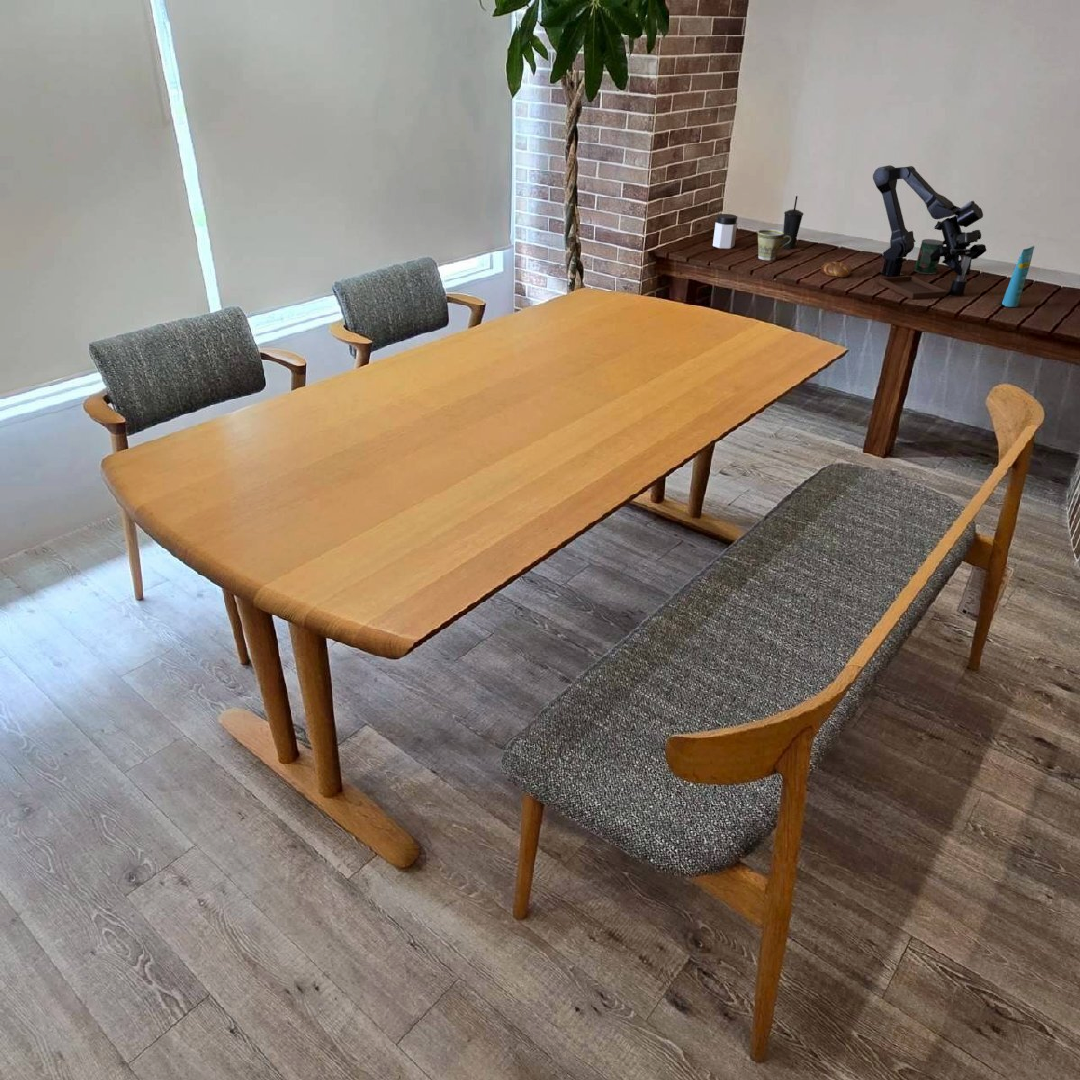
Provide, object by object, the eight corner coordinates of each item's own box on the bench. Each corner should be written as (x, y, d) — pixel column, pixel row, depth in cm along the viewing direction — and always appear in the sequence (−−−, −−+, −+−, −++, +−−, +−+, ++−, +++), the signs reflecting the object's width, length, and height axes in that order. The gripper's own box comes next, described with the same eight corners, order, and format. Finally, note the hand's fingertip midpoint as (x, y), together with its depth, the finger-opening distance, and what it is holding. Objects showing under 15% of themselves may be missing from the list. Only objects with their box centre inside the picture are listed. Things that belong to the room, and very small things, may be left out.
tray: (878, 283, 304) (879, 277, 303) (910, 281, 307) (912, 275, 306) (911, 299, 288) (913, 293, 287) (945, 296, 291) (947, 291, 290)
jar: (732, 244, 349) (736, 214, 343) (735, 249, 342) (740, 218, 336) (711, 243, 349) (715, 213, 343) (713, 248, 343) (717, 217, 336)
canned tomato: (938, 274, 314) (946, 244, 308) (916, 273, 316) (923, 243, 310) (934, 269, 321) (942, 239, 315) (912, 267, 322) (920, 238, 316)
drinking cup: (799, 249, 343) (808, 198, 332) (780, 249, 343) (789, 198, 332) (794, 245, 349) (803, 194, 338) (776, 244, 349) (785, 194, 338)
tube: (1012, 309, 280) (1032, 250, 270) (998, 305, 283) (1016, 247, 273) (1021, 304, 285) (1040, 246, 274) (1006, 301, 288) (1025, 244, 277)
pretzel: (855, 278, 308) (858, 268, 306) (826, 278, 308) (828, 268, 306) (845, 269, 318) (847, 259, 316) (817, 269, 318) (819, 259, 316)
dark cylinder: (946, 292, 295) (957, 255, 288) (957, 292, 296) (967, 254, 289) (954, 296, 292) (965, 258, 284) (965, 295, 293) (976, 257, 285)
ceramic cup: (753, 260, 328) (756, 234, 322) (755, 254, 336) (758, 228, 330) (786, 263, 325) (791, 236, 319) (788, 257, 333) (792, 231, 327)
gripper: (945, 222, 282) (957, 264, 279) (991, 220, 286) (1003, 261, 283) (924, 240, 293) (935, 281, 290) (969, 238, 297) (981, 278, 294)
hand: (964, 275), depth 289 cm, fingers closed on dark cylinder, 3 cm apart
